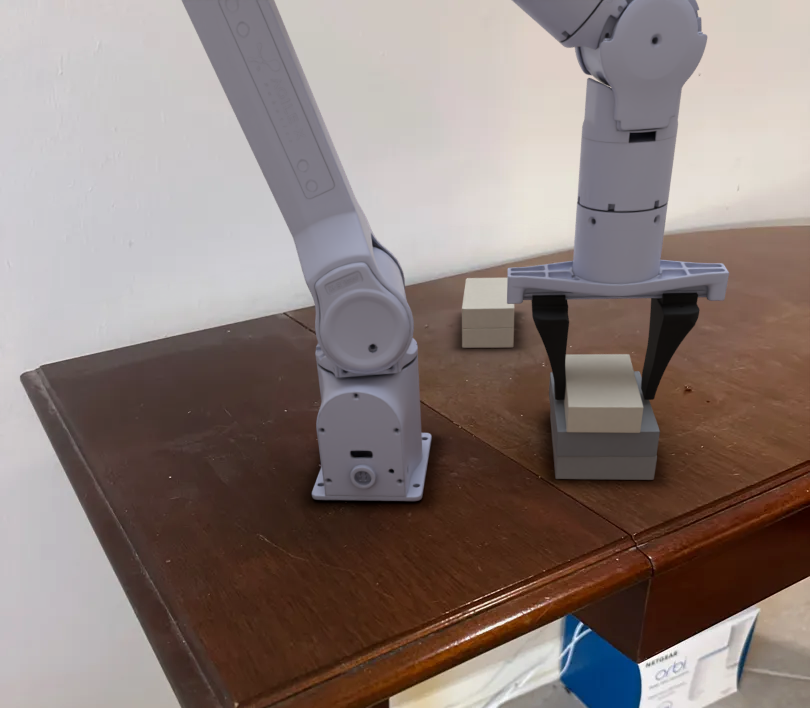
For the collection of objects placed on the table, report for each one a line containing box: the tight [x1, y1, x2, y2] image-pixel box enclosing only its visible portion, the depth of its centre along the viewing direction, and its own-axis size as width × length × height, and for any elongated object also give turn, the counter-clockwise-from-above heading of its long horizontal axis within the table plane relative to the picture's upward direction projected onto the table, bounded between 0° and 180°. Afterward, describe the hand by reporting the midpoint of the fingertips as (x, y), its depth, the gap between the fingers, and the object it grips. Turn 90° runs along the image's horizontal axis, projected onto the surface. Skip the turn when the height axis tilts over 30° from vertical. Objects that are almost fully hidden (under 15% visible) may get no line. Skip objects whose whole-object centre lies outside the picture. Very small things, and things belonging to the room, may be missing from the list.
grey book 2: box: [549, 411, 658, 481], centre depth 62 cm, size 10×7×2 cm
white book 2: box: [461, 327, 515, 349], centre depth 83 cm, size 9×5×2 cm, turn 174°
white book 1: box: [461, 277, 515, 329], centre depth 82 cm, size 9×5×2 cm, turn 174°
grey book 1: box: [548, 370, 661, 456], centre depth 61 cm, size 10×7×2 cm
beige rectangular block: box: [564, 353, 643, 433], centre depth 59 cm, size 9×5×2 cm, turn 173°
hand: (603, 394), depth 60 cm, fingers open, 6 cm apart
